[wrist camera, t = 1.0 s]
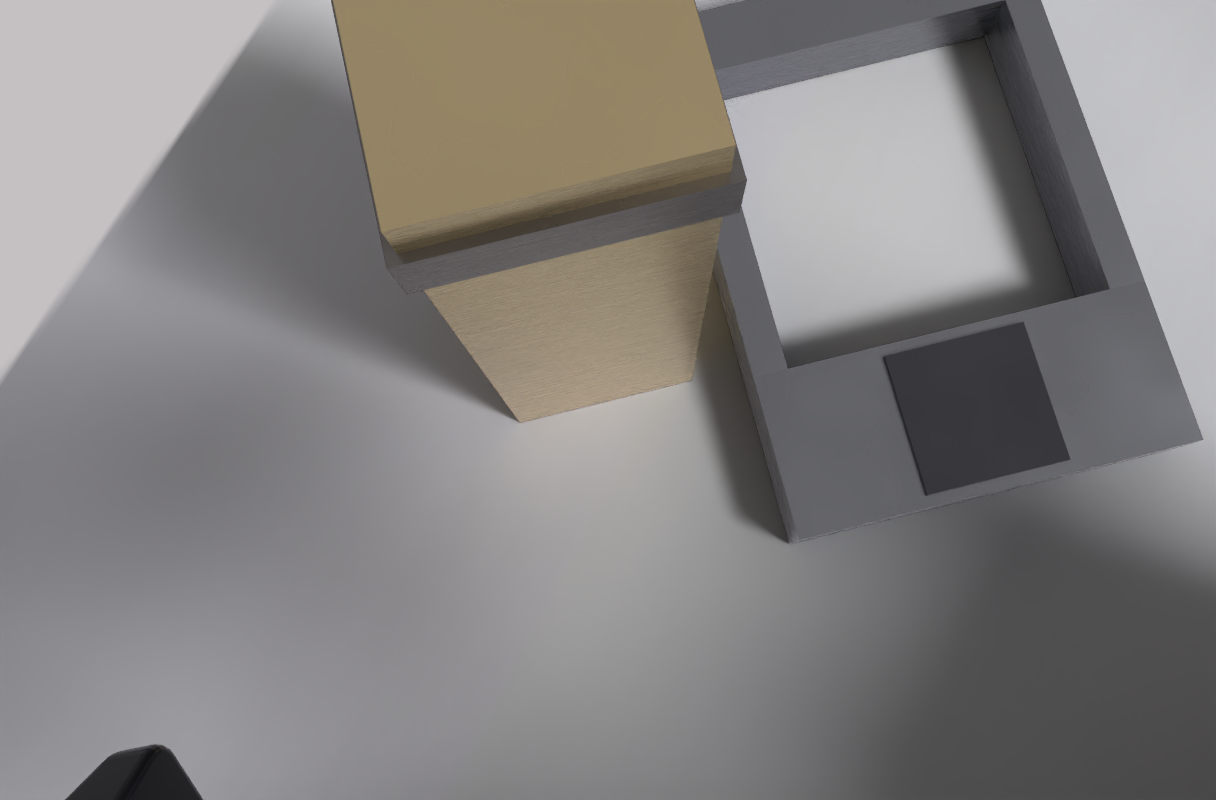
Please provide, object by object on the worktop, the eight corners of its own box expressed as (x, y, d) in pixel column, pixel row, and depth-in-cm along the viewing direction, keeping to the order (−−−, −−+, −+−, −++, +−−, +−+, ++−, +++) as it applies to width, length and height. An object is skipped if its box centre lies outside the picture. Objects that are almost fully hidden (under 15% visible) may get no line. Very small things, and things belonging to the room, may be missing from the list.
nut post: (700, 384, 23) (752, 153, 11) (515, 431, 23) (370, 247, 11) (653, 211, 24) (656, -176, 12) (474, 254, 24) (300, -89, 12)
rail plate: (1166, 450, 22) (1206, 438, 20) (788, 544, 22) (799, 539, 20) (994, -26, 24) (1018, -69, 23) (653, 57, 24) (653, 20, 23)
